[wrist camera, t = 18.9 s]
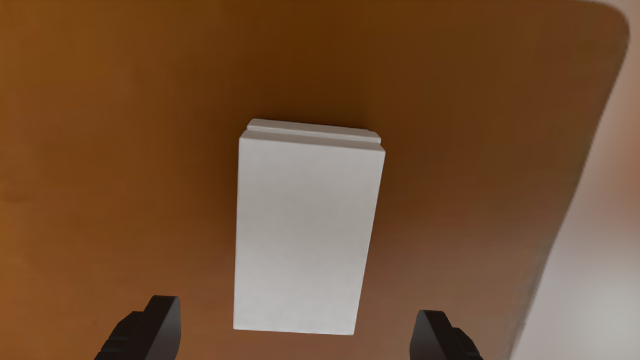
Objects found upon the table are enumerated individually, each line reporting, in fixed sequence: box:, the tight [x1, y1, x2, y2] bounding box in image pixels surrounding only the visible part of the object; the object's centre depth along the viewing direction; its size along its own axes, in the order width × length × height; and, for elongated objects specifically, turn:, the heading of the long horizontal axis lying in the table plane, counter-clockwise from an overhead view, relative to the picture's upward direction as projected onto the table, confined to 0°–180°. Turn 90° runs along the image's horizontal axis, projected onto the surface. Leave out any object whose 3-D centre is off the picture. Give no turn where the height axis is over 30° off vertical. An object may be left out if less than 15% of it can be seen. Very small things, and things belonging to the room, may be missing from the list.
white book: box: [233, 130, 385, 335], centre depth 17 cm, size 10×6×2 cm, turn 174°
